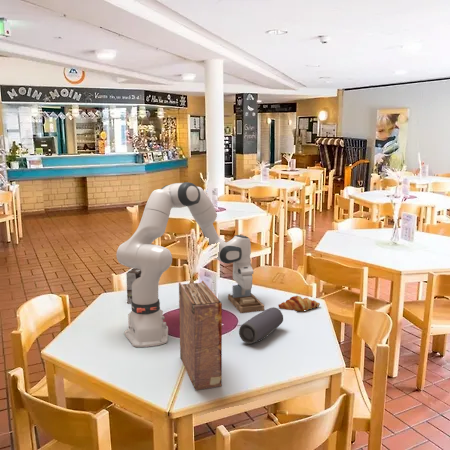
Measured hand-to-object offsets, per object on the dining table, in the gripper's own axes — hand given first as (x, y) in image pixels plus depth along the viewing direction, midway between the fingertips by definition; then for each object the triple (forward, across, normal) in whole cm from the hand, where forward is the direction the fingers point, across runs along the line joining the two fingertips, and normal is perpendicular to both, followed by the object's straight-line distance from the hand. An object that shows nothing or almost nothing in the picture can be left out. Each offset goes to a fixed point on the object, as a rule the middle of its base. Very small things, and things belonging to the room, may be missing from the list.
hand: (241, 293), depth 236 cm
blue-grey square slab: (+4, 0, 0) cm, 4 cm away
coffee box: (+5, -18, -51) cm, 54 cm away
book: (+5, +62, -37) cm, 72 cm away
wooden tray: (+5, +6, 0) cm, 8 cm away
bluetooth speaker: (+5, +41, -5) cm, 42 cm away
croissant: (+5, +17, +24) cm, 30 cm away
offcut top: (+2, +8, 0) cm, 8 cm away
